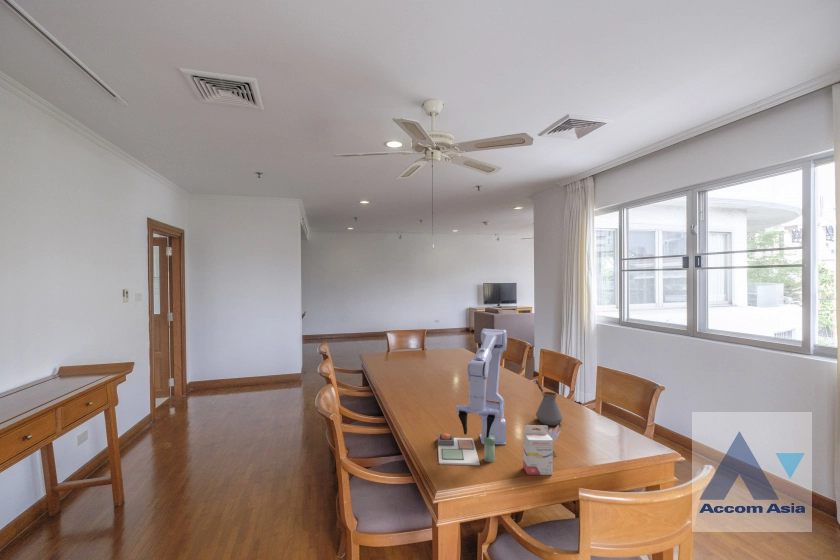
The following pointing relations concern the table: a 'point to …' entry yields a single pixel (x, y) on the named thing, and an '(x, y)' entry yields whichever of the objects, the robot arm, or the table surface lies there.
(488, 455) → the green rounded cylinder
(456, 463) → the picture board
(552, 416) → the coffee pot
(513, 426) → the table surface
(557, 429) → the water lily
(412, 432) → the table surface
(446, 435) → the button
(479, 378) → the robot arm
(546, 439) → the ink cartridge box
